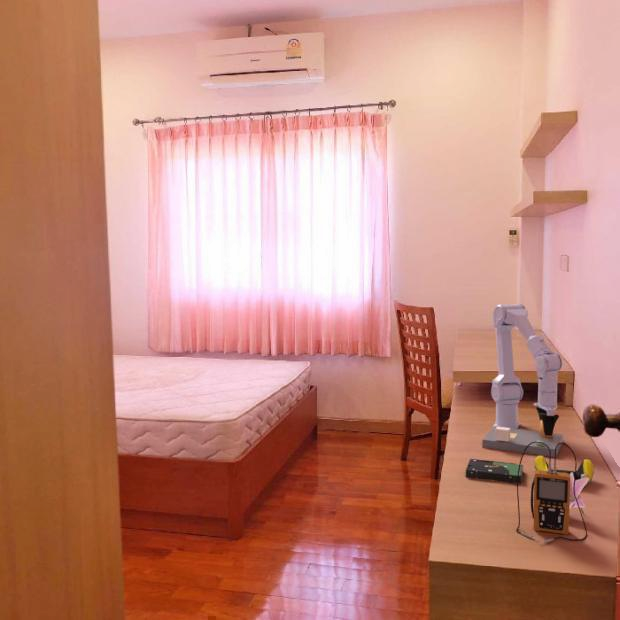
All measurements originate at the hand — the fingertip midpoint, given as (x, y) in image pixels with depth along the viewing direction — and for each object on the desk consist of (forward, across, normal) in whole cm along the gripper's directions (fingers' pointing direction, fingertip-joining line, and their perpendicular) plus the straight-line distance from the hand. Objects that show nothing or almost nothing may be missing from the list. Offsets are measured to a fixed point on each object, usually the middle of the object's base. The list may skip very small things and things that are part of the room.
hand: (546, 432), depth 198 cm
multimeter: (+4, +70, -9) cm, 71 cm away
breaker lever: (+1, +8, -14) cm, 16 cm away
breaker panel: (+4, +2, -7) cm, 9 cm away
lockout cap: (+1, 0, 0) cm, 1 cm away
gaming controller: (+4, +34, 0) cm, 34 cm away
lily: (+4, +57, -4) cm, 57 cm away
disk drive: (+5, +32, -18) cm, 37 cm away
